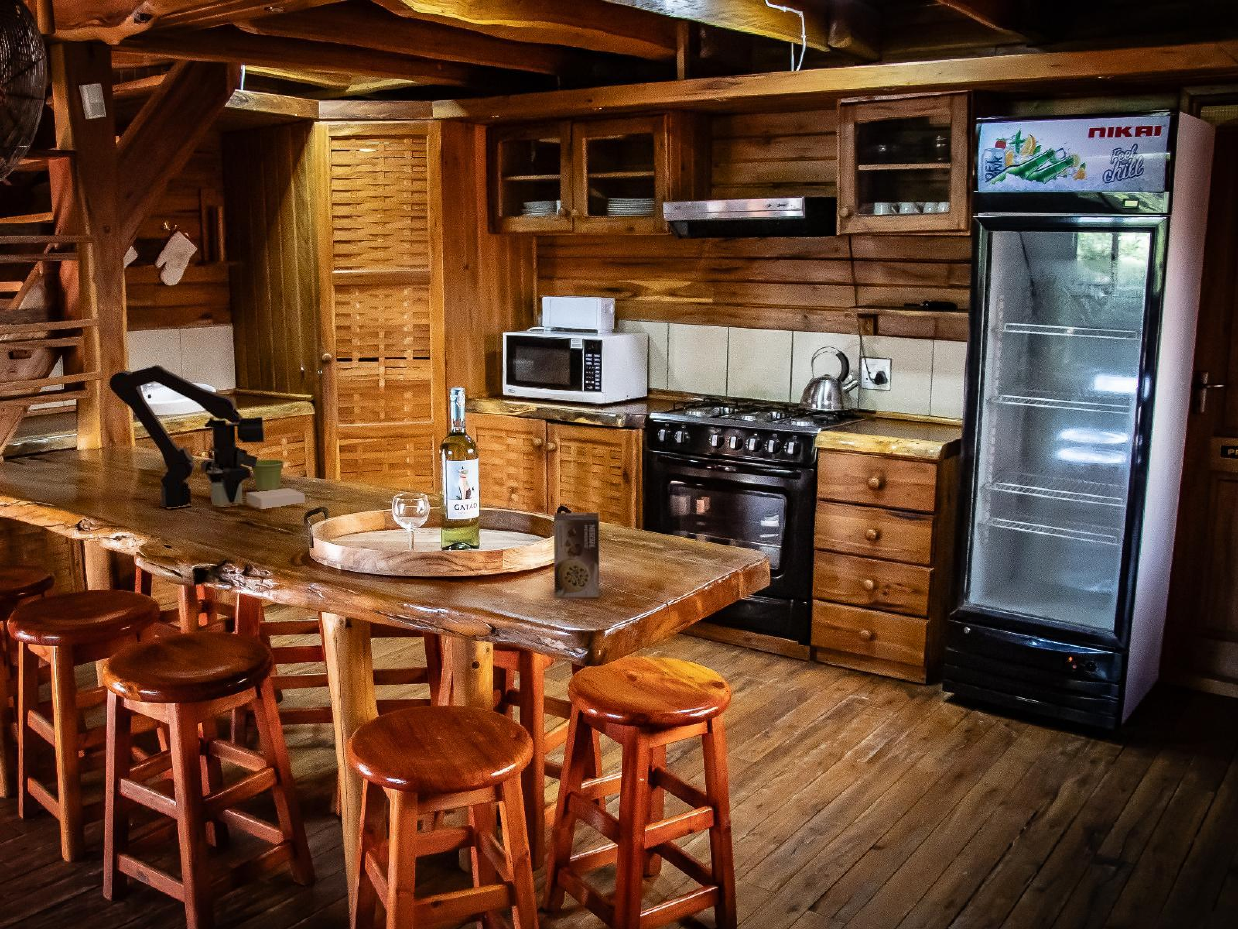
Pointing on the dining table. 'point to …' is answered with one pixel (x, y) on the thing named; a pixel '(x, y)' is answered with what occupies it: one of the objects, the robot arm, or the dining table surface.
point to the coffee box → (576, 555)
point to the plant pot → (267, 474)
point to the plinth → (275, 498)
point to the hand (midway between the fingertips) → (226, 500)
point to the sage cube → (223, 494)
